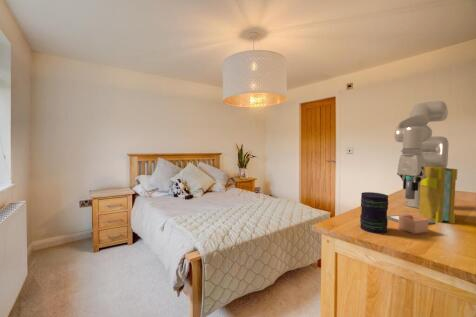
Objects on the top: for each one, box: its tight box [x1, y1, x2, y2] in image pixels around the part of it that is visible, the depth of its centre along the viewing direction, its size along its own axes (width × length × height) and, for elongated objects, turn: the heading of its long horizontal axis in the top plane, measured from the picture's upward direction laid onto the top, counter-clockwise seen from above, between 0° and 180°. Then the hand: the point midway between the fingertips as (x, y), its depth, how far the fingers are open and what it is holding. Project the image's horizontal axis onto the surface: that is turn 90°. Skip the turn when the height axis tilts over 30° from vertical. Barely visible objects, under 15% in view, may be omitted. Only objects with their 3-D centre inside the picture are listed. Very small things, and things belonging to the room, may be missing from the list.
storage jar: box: [359, 191, 389, 235], centre depth 92 cm, size 10×10×15 cm
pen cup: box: [398, 214, 429, 235], centre depth 91 cm, size 7×7×6 cm
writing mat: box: [387, 213, 436, 225], centre depth 104 cm, size 15×12×1 cm
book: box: [418, 166, 459, 224], centre depth 108 cm, size 17×7×25 cm, turn 168°
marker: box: [404, 175, 415, 200], centre depth 107 cm, size 4×4×12 cm
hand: (410, 189), depth 107 cm, fingers closed on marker, 3 cm apart
